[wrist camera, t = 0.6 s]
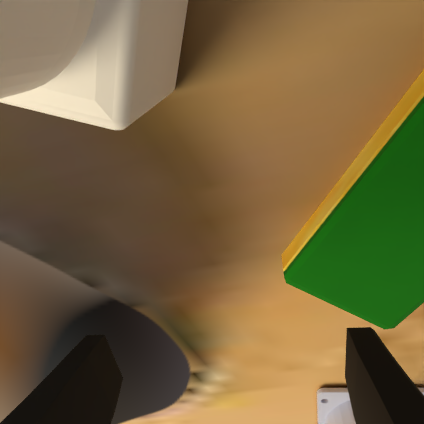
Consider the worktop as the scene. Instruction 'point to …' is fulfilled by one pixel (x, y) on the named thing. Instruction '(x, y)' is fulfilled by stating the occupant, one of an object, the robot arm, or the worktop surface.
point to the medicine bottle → (90, 57)
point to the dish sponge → (371, 226)
